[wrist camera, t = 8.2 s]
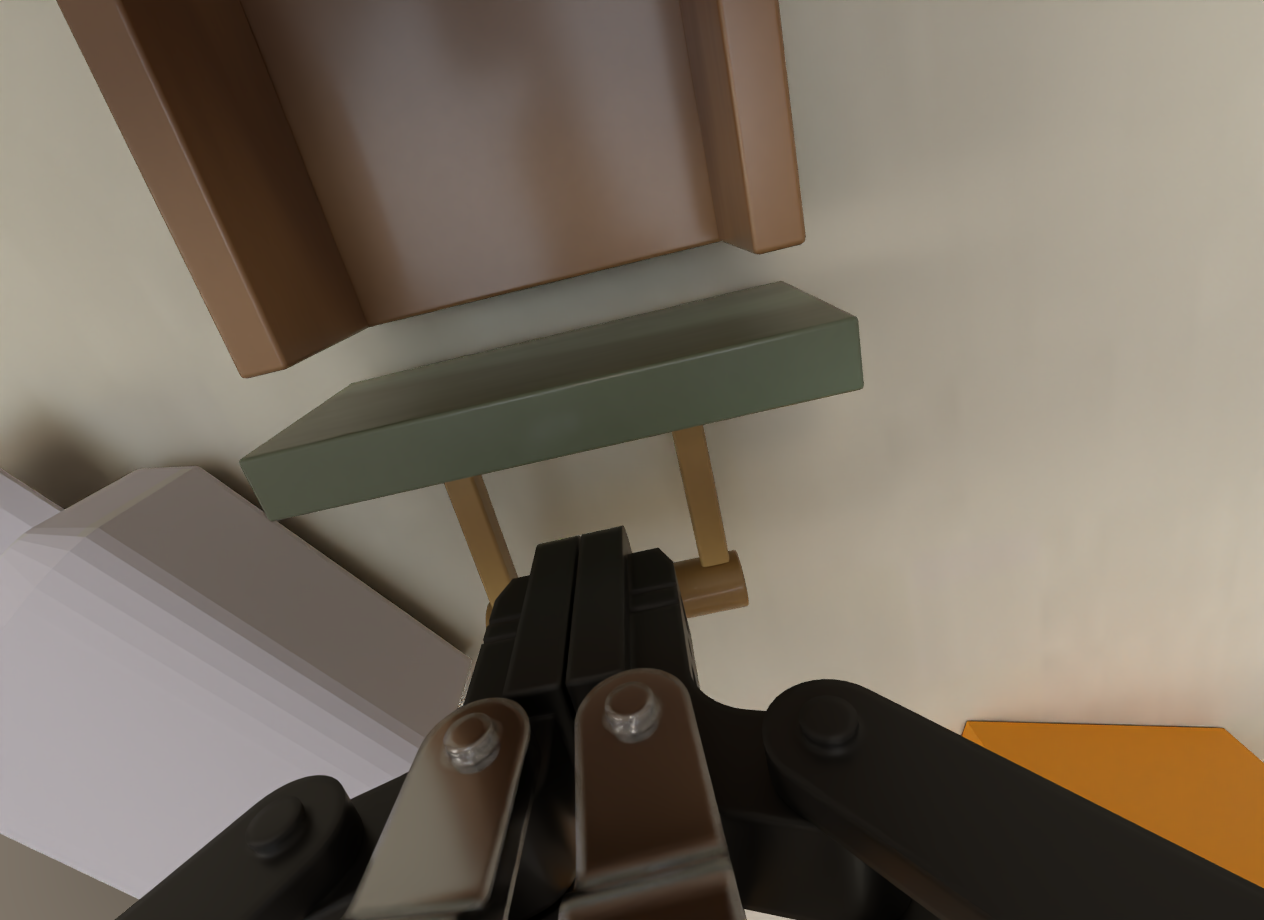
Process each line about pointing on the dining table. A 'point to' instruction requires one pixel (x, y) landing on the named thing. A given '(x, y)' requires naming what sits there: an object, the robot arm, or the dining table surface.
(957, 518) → the dining table surface
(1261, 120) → the dining table surface
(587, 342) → the drawer
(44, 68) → the dining table surface
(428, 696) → the charger
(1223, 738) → the orange juice
